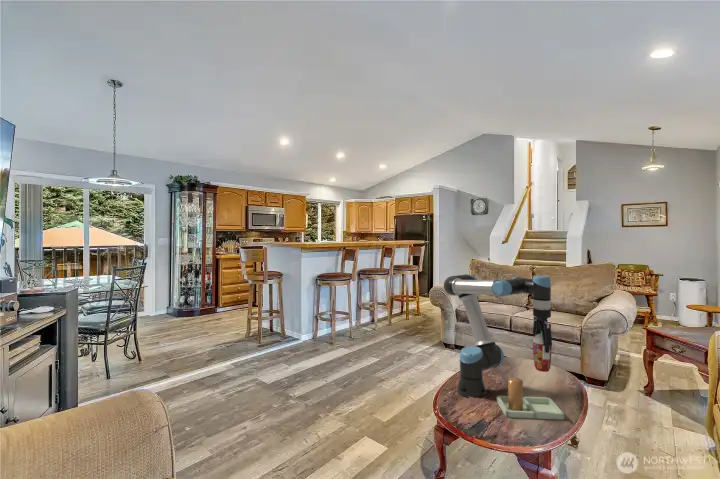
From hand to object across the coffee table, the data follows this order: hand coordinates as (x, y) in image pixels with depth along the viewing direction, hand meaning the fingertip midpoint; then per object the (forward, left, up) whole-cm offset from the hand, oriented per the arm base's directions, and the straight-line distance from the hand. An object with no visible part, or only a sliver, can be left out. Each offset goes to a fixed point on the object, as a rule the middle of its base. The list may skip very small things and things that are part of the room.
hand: (542, 355), depth 161 cm
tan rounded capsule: (-12, 0, -26) cm, 29 cm away
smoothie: (0, 0, -7) cm, 7 cm away
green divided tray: (-6, 0, -27) cm, 28 cm away
